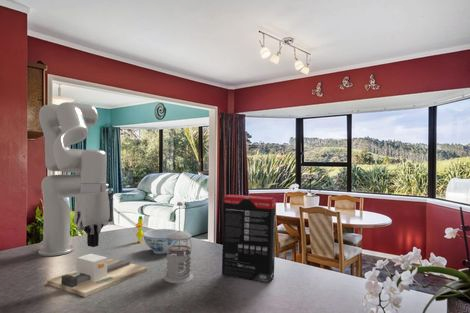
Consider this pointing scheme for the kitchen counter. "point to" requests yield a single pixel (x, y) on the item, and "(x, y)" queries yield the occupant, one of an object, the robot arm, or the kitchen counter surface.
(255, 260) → the graphics card box
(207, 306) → the kitchen counter surface
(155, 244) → the chinaware
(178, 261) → the french press
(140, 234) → the toy figure
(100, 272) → the block
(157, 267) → the kitchen counter surface
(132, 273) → the din panel
